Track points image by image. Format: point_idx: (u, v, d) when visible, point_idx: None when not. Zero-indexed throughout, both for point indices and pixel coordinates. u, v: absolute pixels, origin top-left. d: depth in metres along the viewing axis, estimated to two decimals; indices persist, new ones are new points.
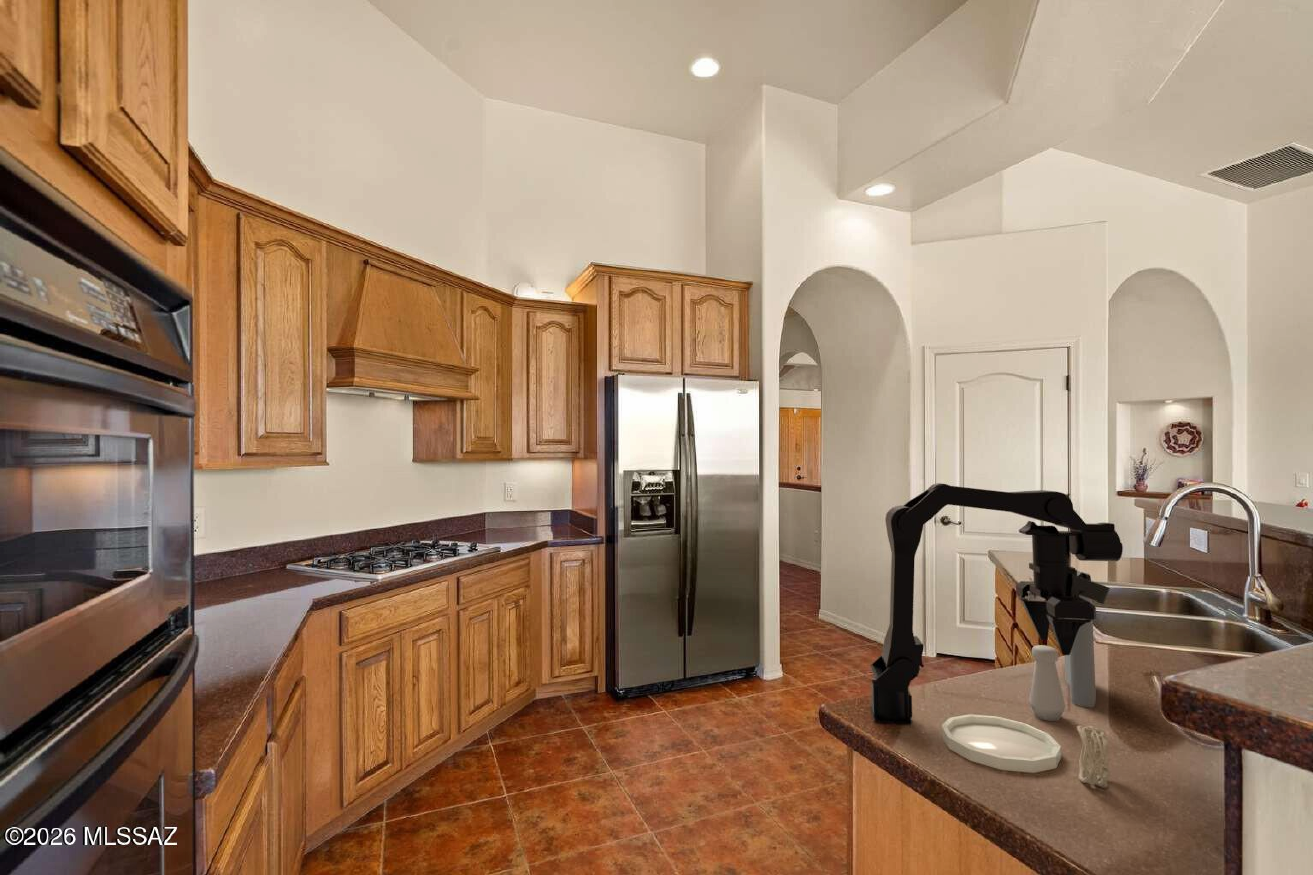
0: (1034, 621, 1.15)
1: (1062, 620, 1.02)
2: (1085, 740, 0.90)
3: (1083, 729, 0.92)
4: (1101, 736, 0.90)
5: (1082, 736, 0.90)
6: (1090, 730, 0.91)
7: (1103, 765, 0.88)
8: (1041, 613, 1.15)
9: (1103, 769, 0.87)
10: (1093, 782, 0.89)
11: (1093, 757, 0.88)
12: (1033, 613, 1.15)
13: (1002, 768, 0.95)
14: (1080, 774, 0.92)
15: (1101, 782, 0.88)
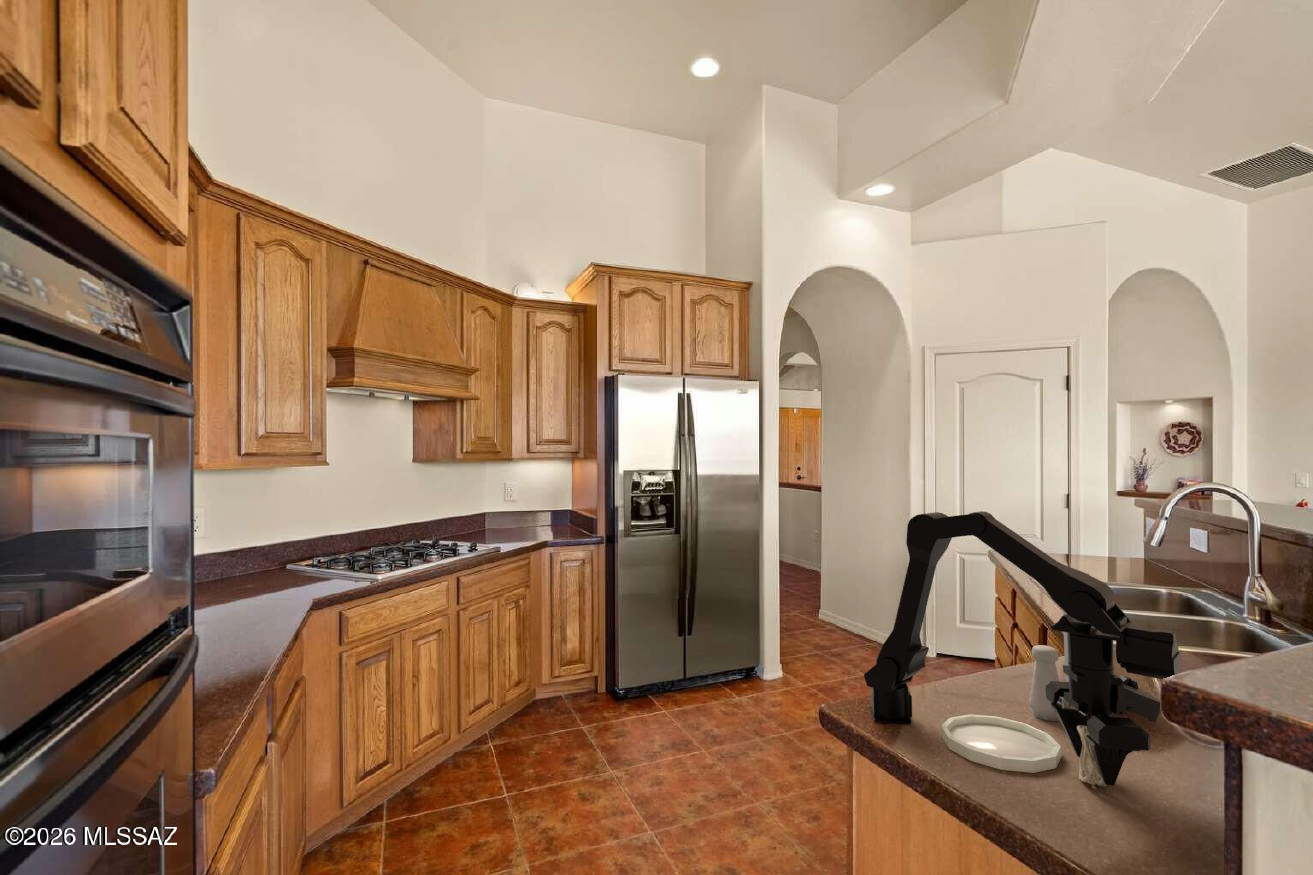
0: (1070, 734, 0.96)
1: (1106, 747, 0.84)
2: (1085, 740, 0.90)
3: (1083, 729, 0.92)
4: None
5: (1082, 736, 0.90)
6: None
7: None
8: None
9: None
10: (1093, 782, 0.89)
11: (1093, 757, 0.88)
12: (1068, 724, 0.96)
13: (1002, 768, 0.95)
14: (1080, 774, 0.92)
15: (1101, 782, 0.88)
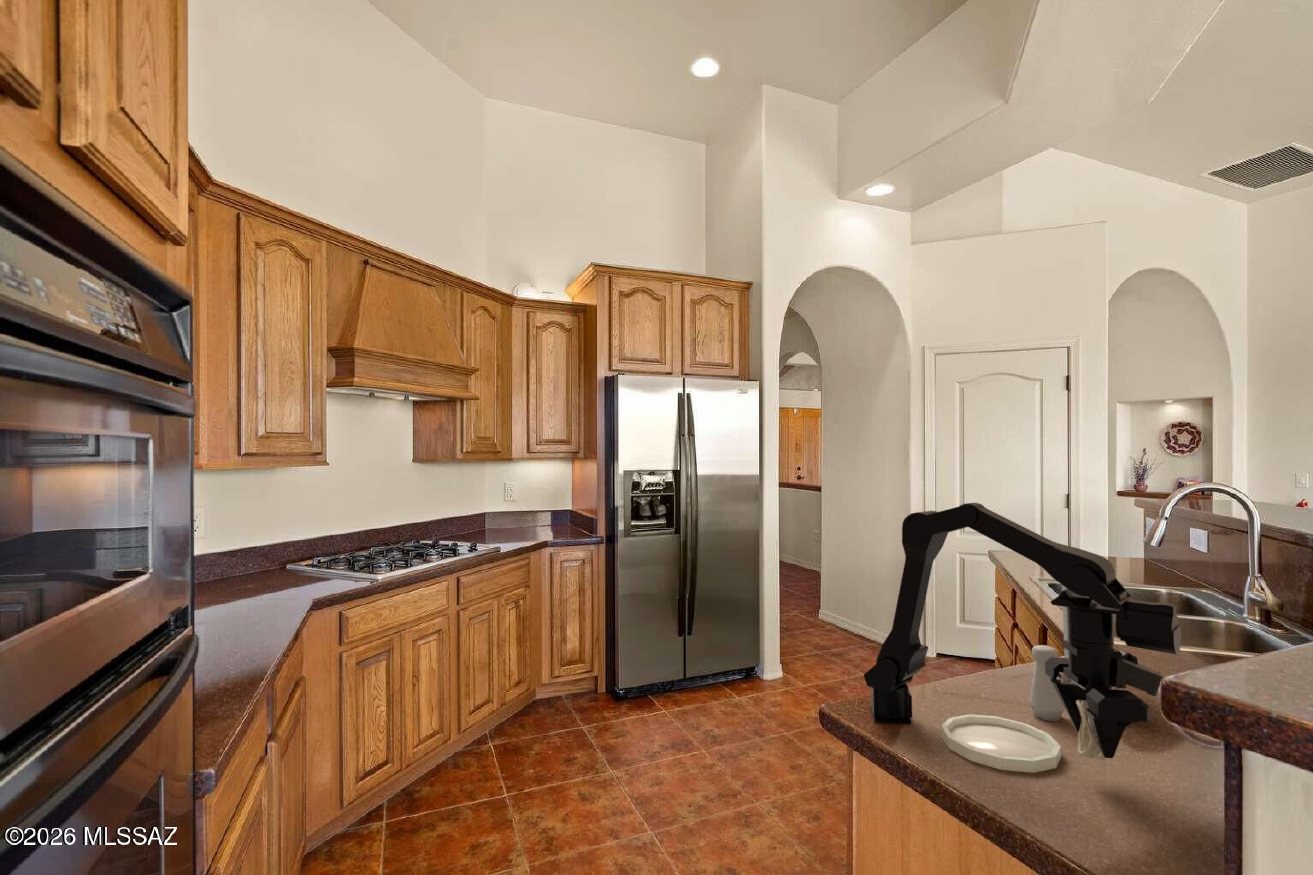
0: (1069, 709, 0.96)
1: (1105, 719, 0.84)
2: (1084, 713, 0.90)
3: (1082, 703, 0.92)
4: None
5: (1081, 710, 0.91)
6: None
7: None
8: None
9: None
10: (1092, 755, 0.90)
11: (1092, 730, 0.89)
12: (1067, 699, 0.96)
13: (1002, 768, 0.95)
14: (1079, 748, 0.93)
15: (1100, 755, 0.89)
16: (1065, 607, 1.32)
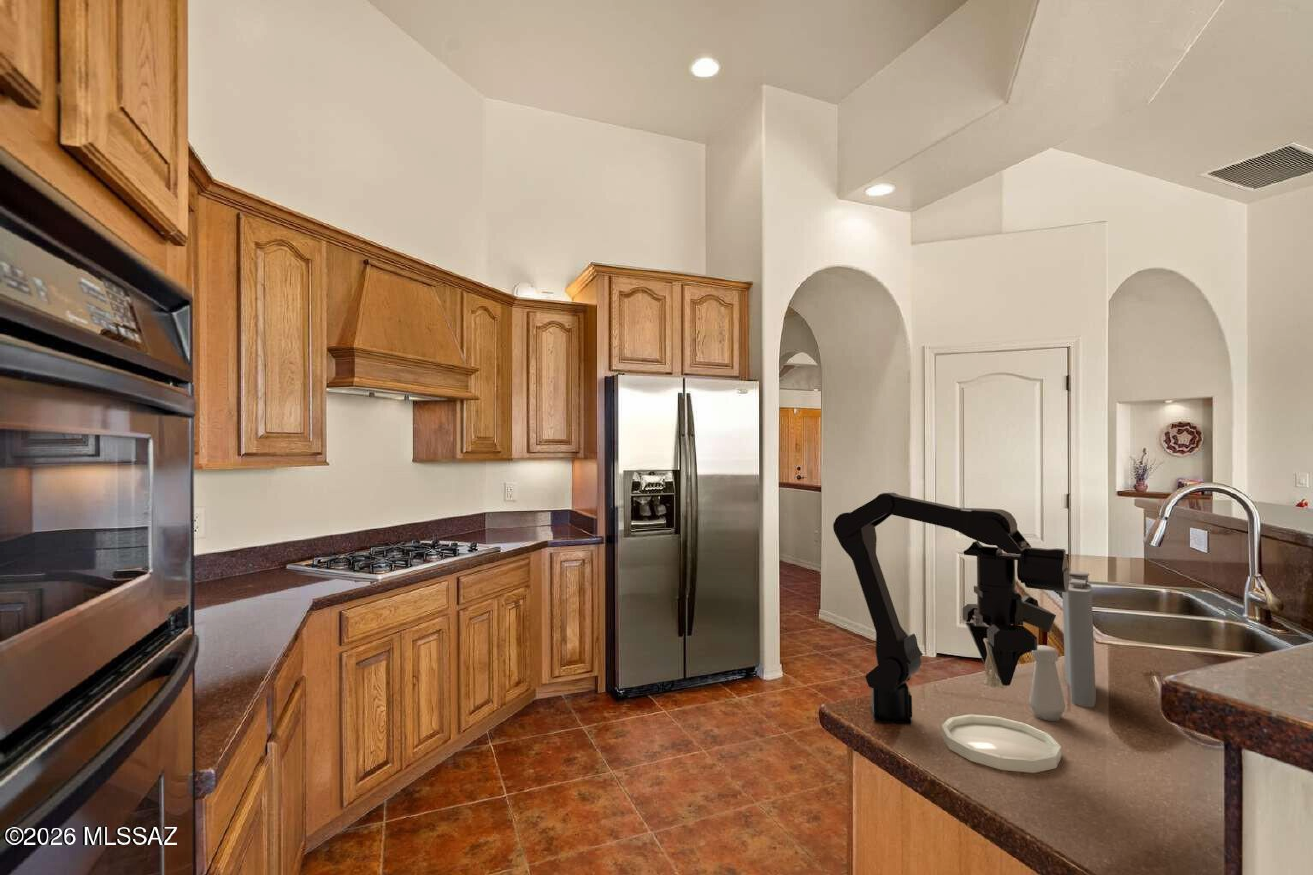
0: (979, 648, 1.08)
1: (1001, 649, 0.96)
2: (988, 648, 1.02)
3: None
4: None
5: (986, 645, 1.03)
6: None
7: None
8: None
9: None
10: (994, 684, 1.02)
11: None
12: (979, 639, 1.08)
13: (1002, 768, 0.95)
14: (985, 680, 1.05)
15: (1000, 683, 1.01)
16: (1065, 607, 1.32)
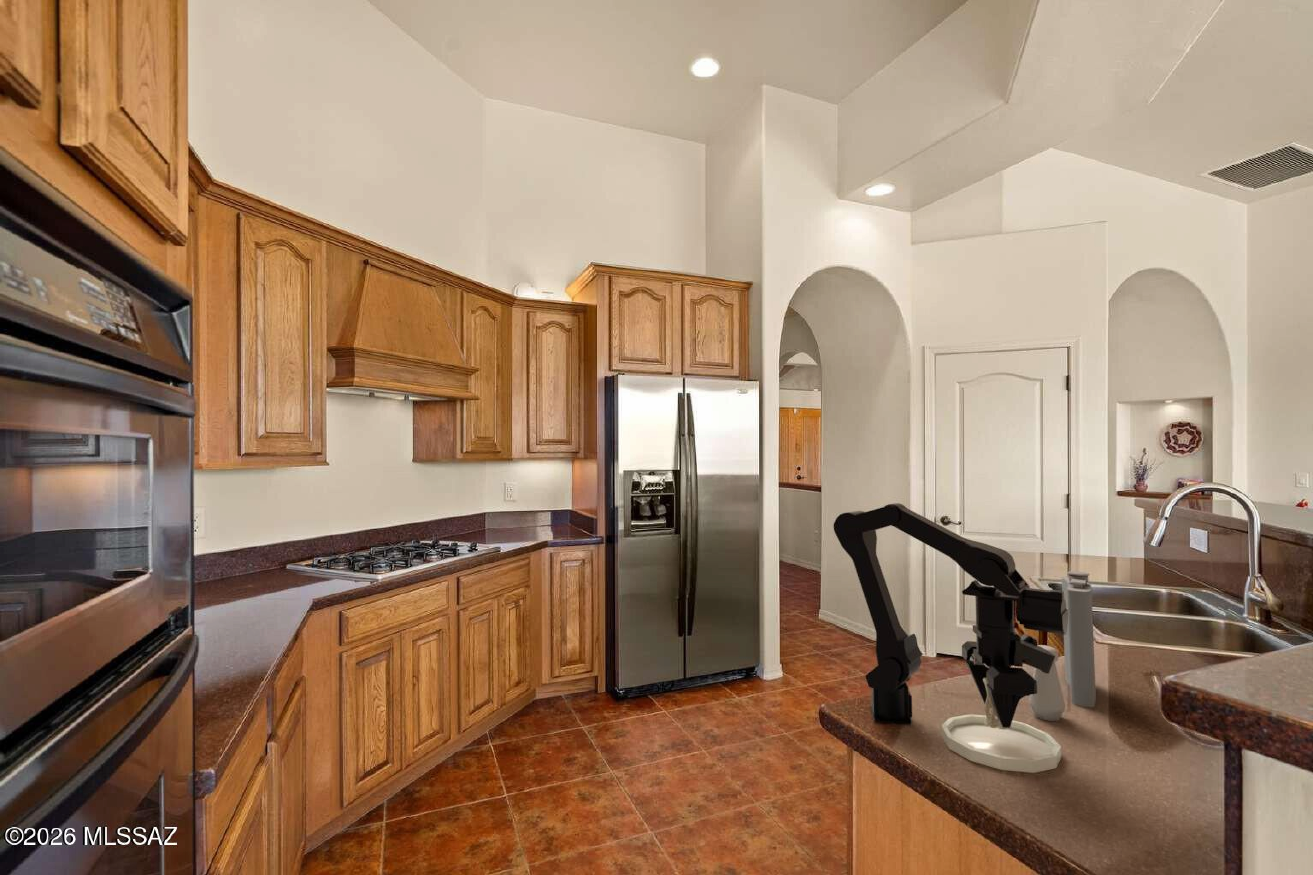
0: (979, 687, 1.08)
1: (1001, 692, 0.96)
2: None
3: None
4: None
5: None
6: None
7: None
8: (987, 678, 1.08)
9: None
10: (994, 725, 1.02)
11: None
12: (978, 678, 1.08)
13: (1002, 768, 0.95)
14: (985, 720, 1.04)
15: (1000, 725, 1.01)
16: None
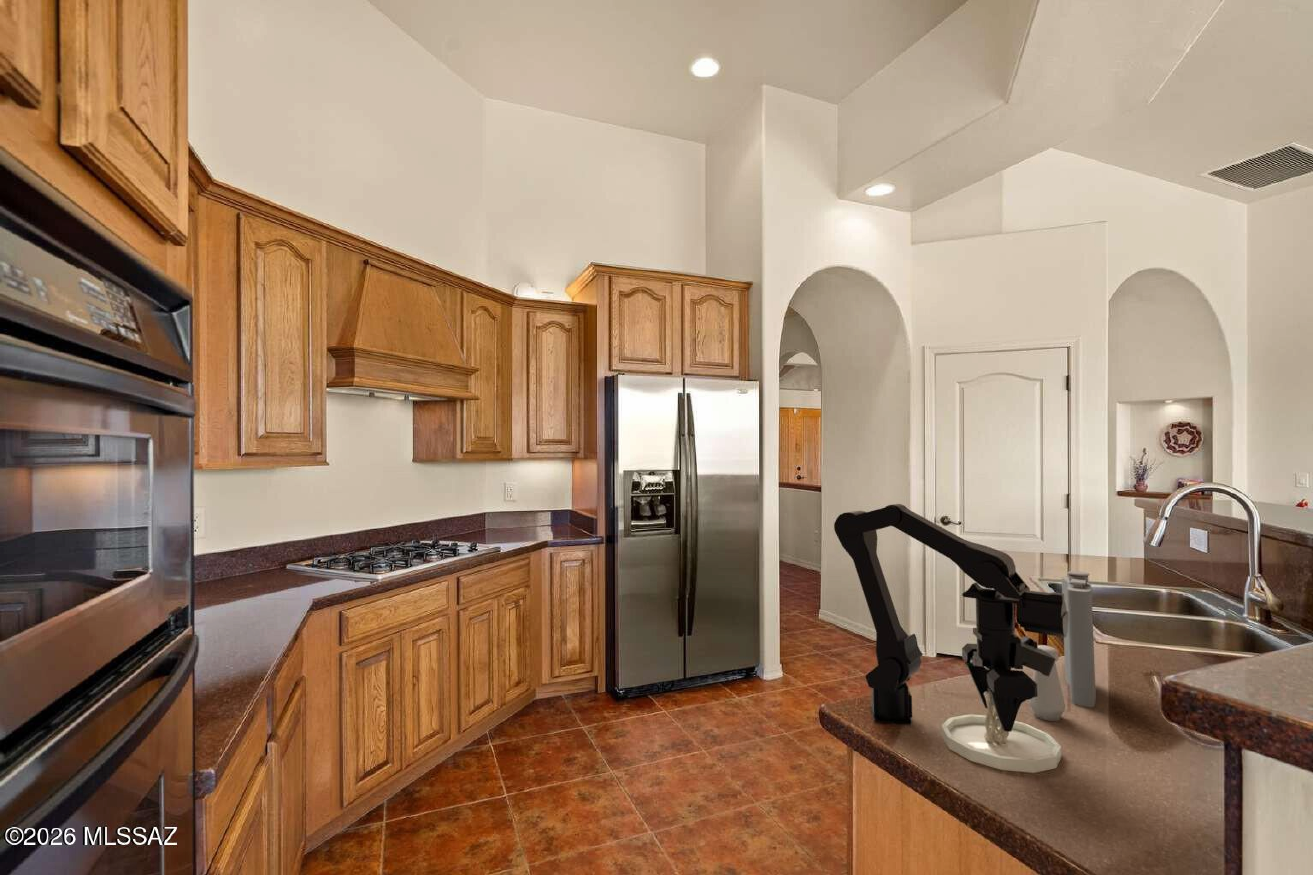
0: (979, 688, 1.08)
1: (1002, 696, 0.96)
2: (988, 703, 1.02)
3: (988, 694, 1.04)
4: None
5: (986, 700, 1.03)
6: None
7: None
8: (986, 680, 1.08)
9: (1002, 728, 1.00)
10: (994, 740, 1.02)
11: (994, 717, 1.01)
12: (978, 679, 1.09)
13: (1002, 768, 0.95)
14: (985, 733, 1.05)
15: (1000, 739, 1.01)
16: None
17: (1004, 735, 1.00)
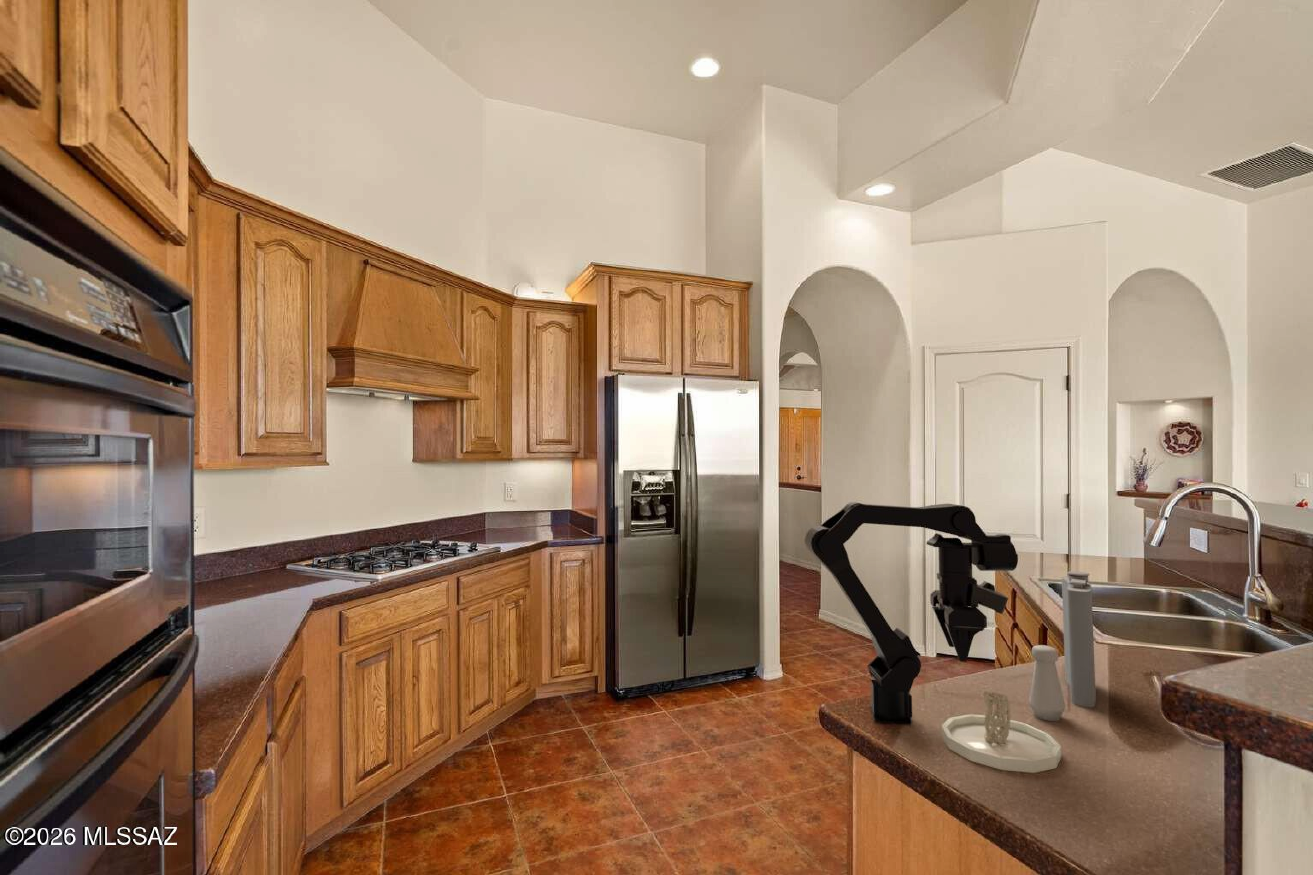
0: (943, 629, 1.20)
1: (956, 628, 1.08)
2: (987, 703, 1.02)
3: (987, 694, 1.04)
4: (1001, 700, 1.02)
5: (985, 700, 1.03)
6: (993, 695, 1.04)
7: (1001, 724, 1.00)
8: None
9: (1001, 728, 1.00)
10: (994, 740, 1.02)
11: (993, 717, 1.01)
12: (942, 621, 1.20)
13: (1002, 768, 0.95)
14: (985, 734, 1.05)
15: (1000, 739, 1.01)
16: (1065, 607, 1.32)
17: (1004, 735, 1.00)
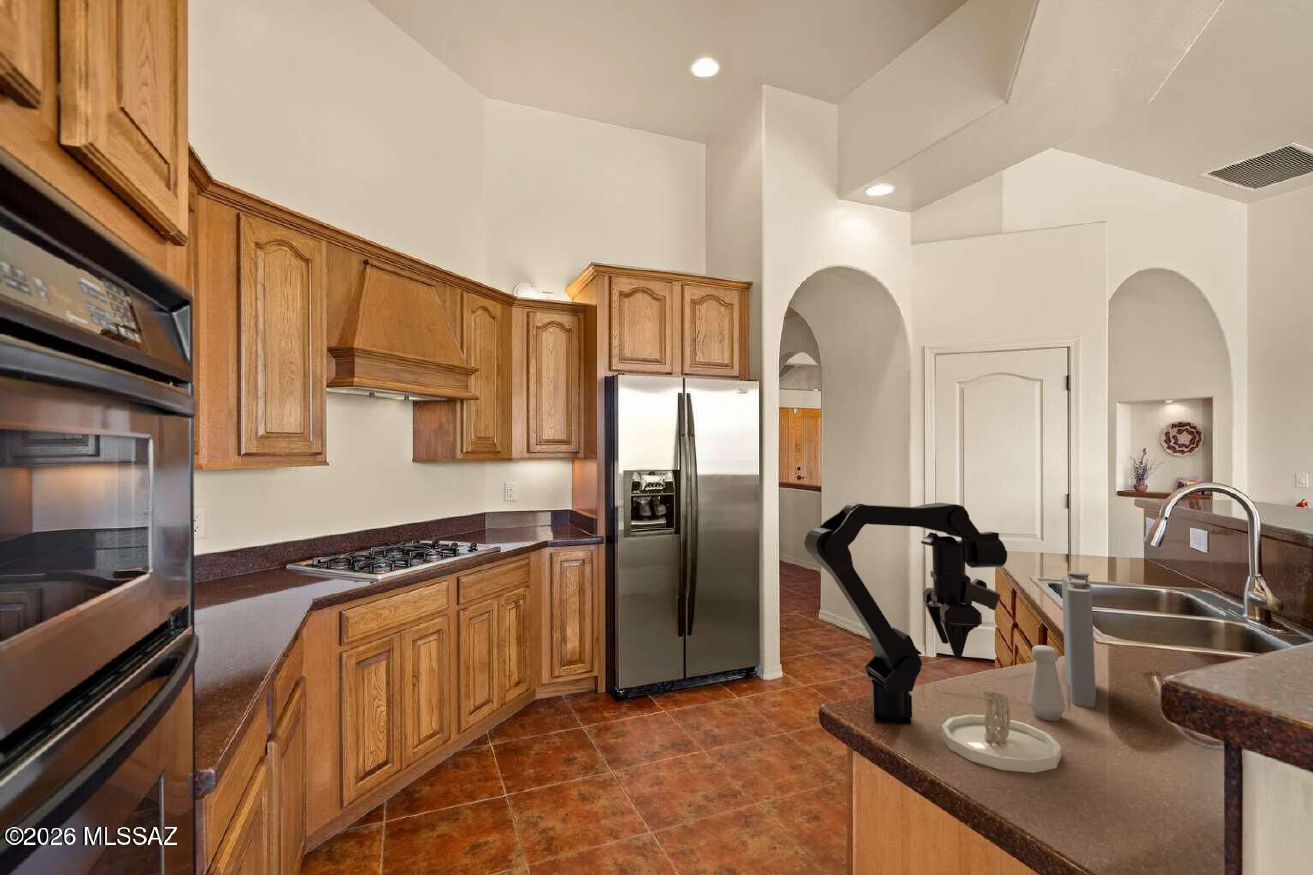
0: (936, 626, 1.22)
1: (952, 625, 1.10)
2: (987, 703, 1.02)
3: (987, 694, 1.04)
4: (1001, 700, 1.02)
5: (985, 700, 1.03)
6: (993, 695, 1.04)
7: (1001, 724, 1.00)
8: None
9: (1001, 728, 1.00)
10: (994, 740, 1.02)
11: (993, 717, 1.01)
12: (936, 618, 1.22)
13: (1002, 768, 0.95)
14: (985, 734, 1.05)
15: (1000, 739, 1.01)
16: (1065, 607, 1.32)
17: (1004, 735, 1.00)
